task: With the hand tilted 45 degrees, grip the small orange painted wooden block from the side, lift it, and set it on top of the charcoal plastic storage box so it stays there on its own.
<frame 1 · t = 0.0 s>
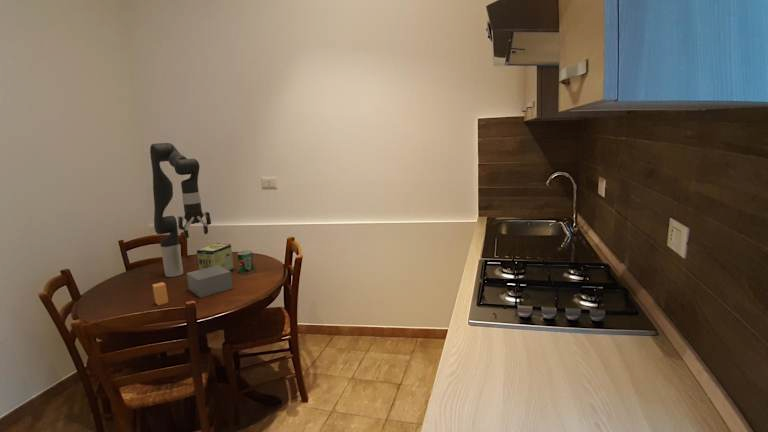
hand: (196, 235, 208), 29 cm above the table, tool pointing down, fingers open, 8 cm apart
orange block: (161, 302, 206), on the table
canned tomato: (247, 271, 246), on the table
storage box: (210, 289, 221), on the table
protein box: (217, 274, 244), on the table
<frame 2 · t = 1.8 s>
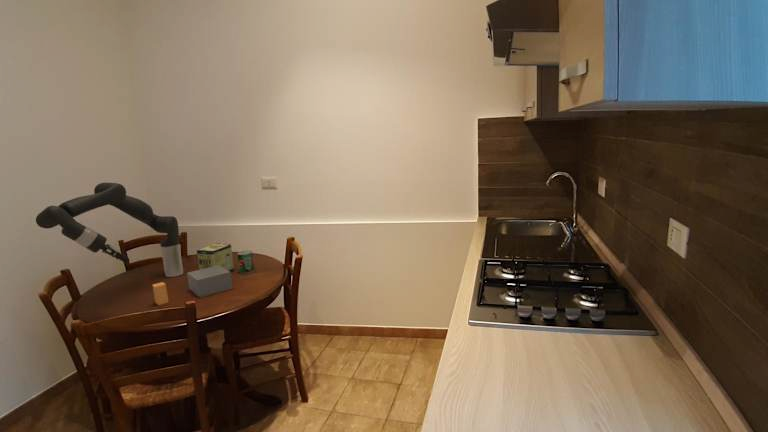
hand: (125, 259, 193), 24 cm above the table, tool tilted 45°, fingers open, 8 cm apart
nothing on the table moved.
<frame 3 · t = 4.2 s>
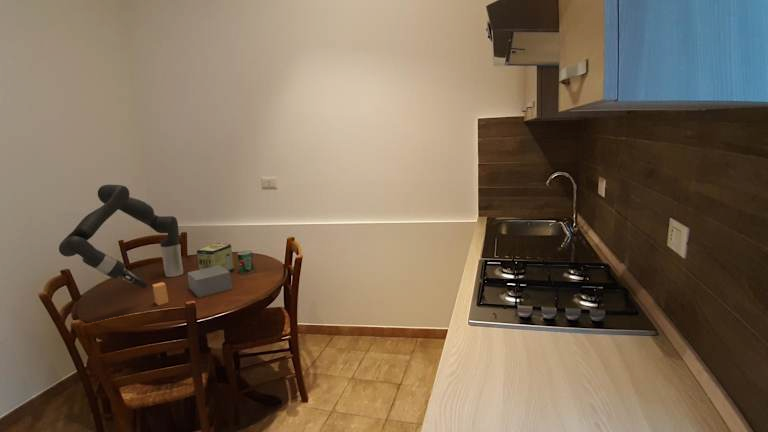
hand: (143, 284, 199), 11 cm above the table, tool tilted 45°, fingers open, 8 cm apart
nothing on the table moved.
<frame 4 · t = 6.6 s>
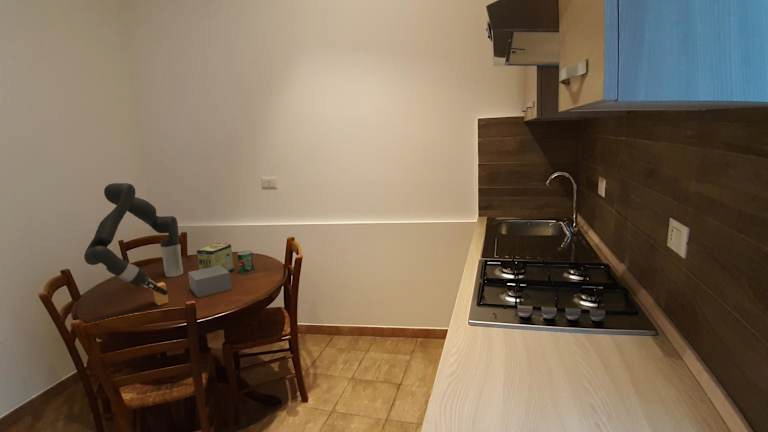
hand: (164, 292, 206), 5 cm above the table, tool tilted 45°, fingers closed on orange block, 4 cm apart
orange block: (161, 302, 206), on the table, touching gripper
everything else where it was.
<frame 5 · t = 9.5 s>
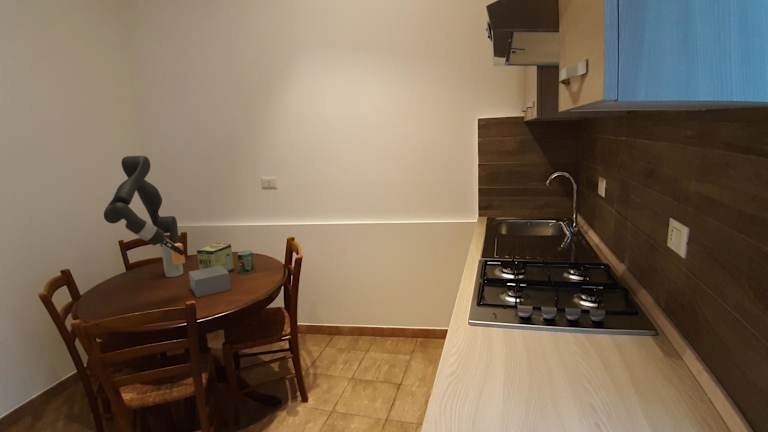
hand: (181, 252, 209), 21 cm above the table, tool tilted 45°, fingers closed on orange block, 4 cm apart
orange block: (178, 262, 209), point 17 cm above the table, touching gripper
everything else where it was.
when the fingers open (15 cm above the table, at t = 12.3 s): orange block drops 2 cm, resting on storage box.
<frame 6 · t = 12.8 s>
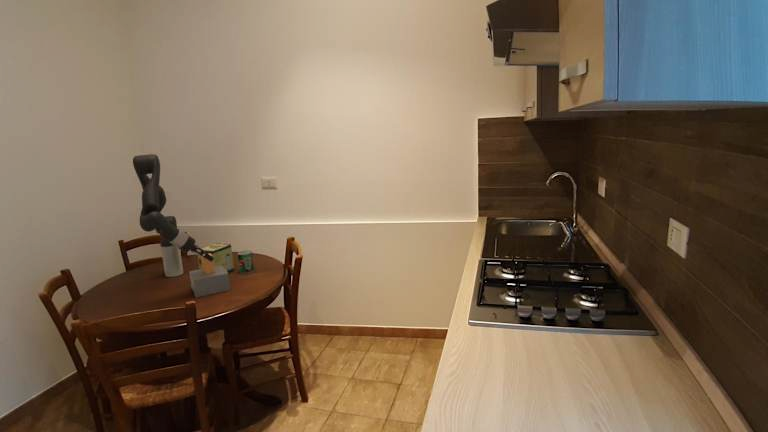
hand: (209, 258, 219), 16 cm above the table, tool tilted 45°, fingers open, 8 cm apart
orange block: (208, 272, 219), point 9 cm above the table, touching storage box
storage box: (210, 289, 221), on the table, touching orange block
everything else where it was.
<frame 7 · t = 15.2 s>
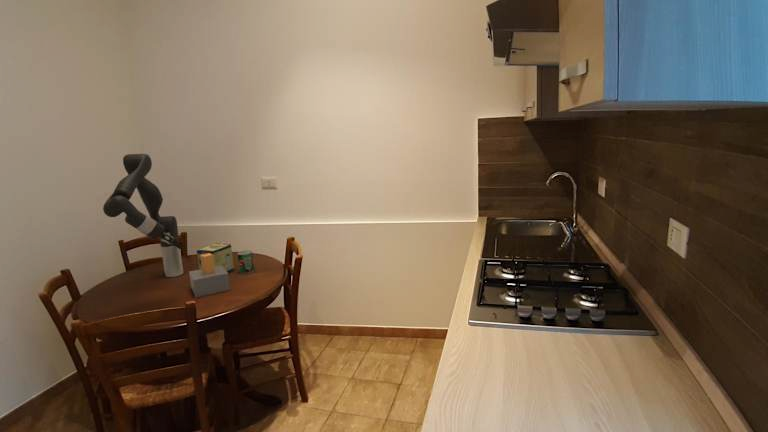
hand: (179, 246, 208), 25 cm above the table, tool tilted 45°, fingers open, 8 cm apart
orange block: (208, 272, 219), point 9 cm above the table
storage box: (210, 289, 221), on the table
everything else where it was.
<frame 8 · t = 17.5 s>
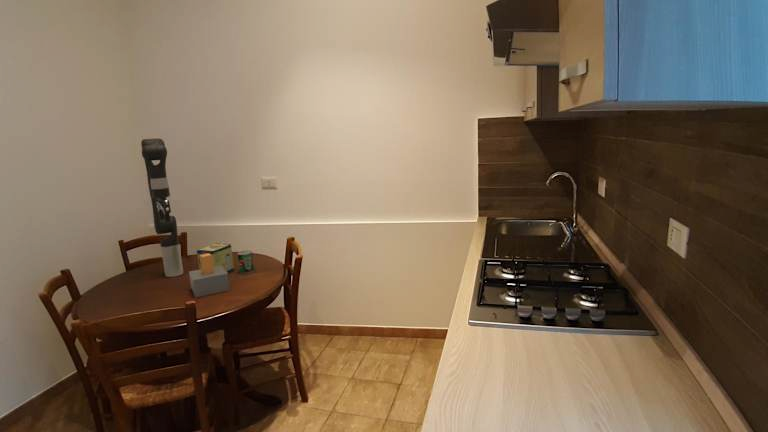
hand: (165, 220, 214), 36 cm above the table, tool pointing down, fingers open, 8 cm apart
orange block: (208, 272, 219), point 9 cm above the table, touching storage box
storage box: (210, 289, 221), on the table, touching orange block
everything else where it was.
at the end: orange block inside the target area on the storage box (0.1 cm from its centre), point 9.0 cm above the storage box's base; orange block tilted 1°; the gripper is holding nothing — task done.
